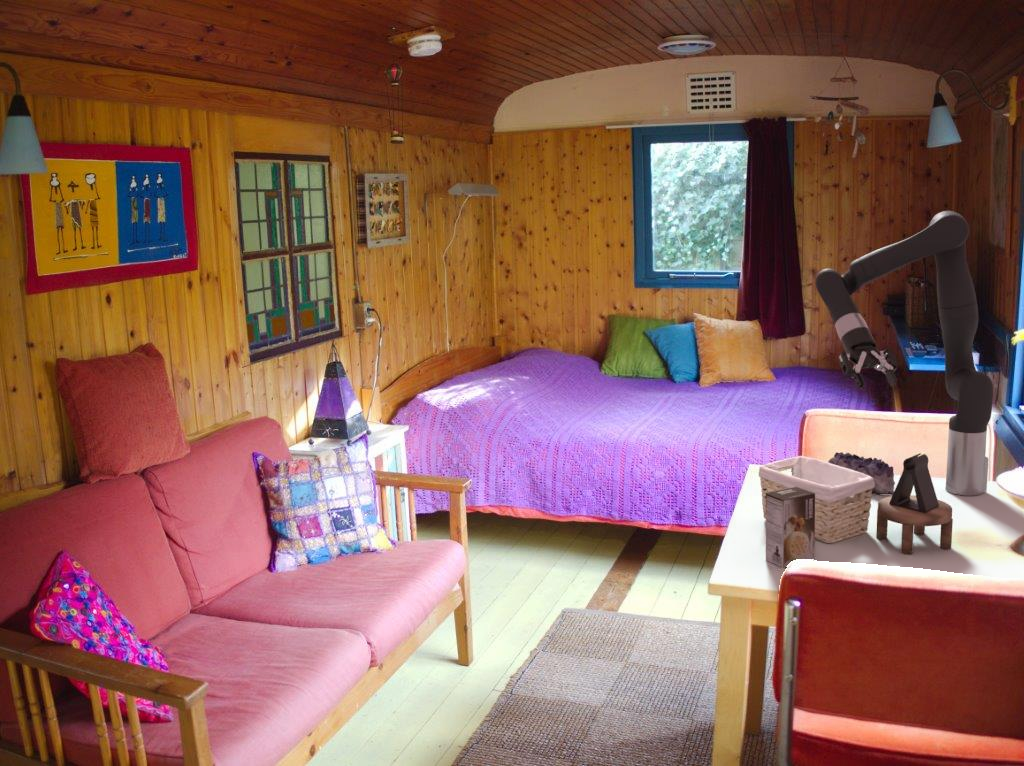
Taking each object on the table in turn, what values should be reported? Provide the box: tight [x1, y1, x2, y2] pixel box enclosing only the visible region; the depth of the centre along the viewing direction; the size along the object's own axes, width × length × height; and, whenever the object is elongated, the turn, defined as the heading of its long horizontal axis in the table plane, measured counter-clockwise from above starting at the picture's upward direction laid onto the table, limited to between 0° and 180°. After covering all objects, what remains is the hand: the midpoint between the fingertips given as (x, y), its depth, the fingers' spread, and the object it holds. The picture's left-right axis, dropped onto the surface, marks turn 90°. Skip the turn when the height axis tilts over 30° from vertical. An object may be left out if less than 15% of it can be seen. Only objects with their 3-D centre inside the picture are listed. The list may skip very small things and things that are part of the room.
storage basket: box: [758, 455, 875, 544], centre depth 241 cm, size 24×16×15 cm
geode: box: [828, 451, 896, 495], centre depth 272 cm, size 20×12×10 cm, turn 38°
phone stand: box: [889, 452, 939, 513], centre depth 227 cm, size 9×6×12 cm, turn 40°
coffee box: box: [765, 487, 816, 569], centre depth 221 cm, size 9×6×16 cm
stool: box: [875, 494, 954, 556], centre depth 229 cm, size 16×16×9 cm
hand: (879, 386), depth 246 cm, fingers open, 8 cm apart
